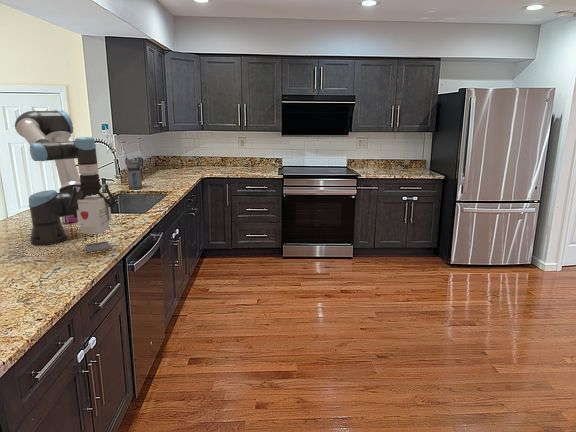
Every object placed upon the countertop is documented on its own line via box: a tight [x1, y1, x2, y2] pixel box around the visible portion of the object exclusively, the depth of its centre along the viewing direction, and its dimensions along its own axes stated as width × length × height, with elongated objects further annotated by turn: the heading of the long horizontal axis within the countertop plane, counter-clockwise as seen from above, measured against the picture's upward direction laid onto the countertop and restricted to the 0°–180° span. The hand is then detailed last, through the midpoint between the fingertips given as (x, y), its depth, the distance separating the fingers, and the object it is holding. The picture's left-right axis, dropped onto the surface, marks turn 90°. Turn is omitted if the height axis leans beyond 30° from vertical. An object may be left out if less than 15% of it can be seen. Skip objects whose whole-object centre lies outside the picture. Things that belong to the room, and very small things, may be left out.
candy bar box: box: [61, 215, 78, 225], centre depth 228 cm, size 11×5×16 cm, turn 141°
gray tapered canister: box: [124, 156, 144, 191], centre depth 320 cm, size 10×13×25 cm
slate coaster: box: [84, 240, 113, 254], centre depth 185 cm, size 10×10×2 cm
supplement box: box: [77, 195, 111, 235], centre depth 181 cm, size 9×9×15 cm
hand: (95, 222), depth 182 cm, fingers closed on supplement box, 12 cm apart
